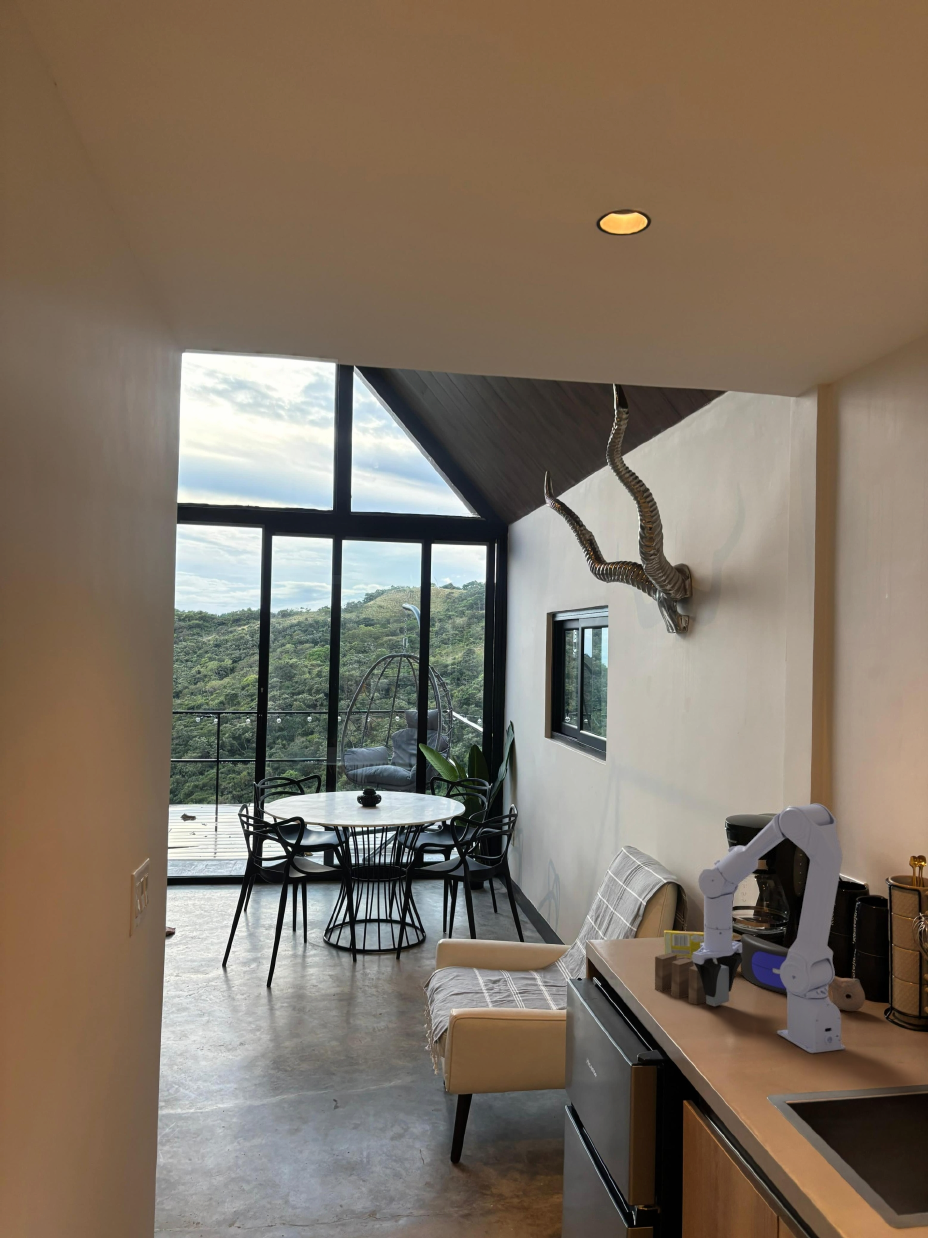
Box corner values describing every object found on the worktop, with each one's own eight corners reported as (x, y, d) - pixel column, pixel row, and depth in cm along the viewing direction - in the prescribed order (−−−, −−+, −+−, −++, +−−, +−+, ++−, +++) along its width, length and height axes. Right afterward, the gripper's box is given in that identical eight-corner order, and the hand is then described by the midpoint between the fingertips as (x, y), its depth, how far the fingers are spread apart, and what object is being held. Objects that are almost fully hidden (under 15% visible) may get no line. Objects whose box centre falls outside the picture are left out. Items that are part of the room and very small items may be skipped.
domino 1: (676, 987, 188) (676, 955, 189) (662, 992, 185) (662, 959, 186) (669, 985, 190) (669, 952, 190) (654, 989, 187) (655, 956, 187)
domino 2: (693, 993, 185) (693, 960, 185) (679, 998, 181) (679, 964, 182) (685, 991, 186) (686, 958, 187) (671, 995, 183) (671, 962, 184)
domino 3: (710, 1000, 181) (711, 966, 182) (696, 1005, 178) (696, 970, 178) (703, 997, 183) (703, 963, 183) (688, 1002, 179) (688, 968, 180)
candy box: (732, 968, 202) (732, 933, 203) (734, 971, 200) (734, 935, 201) (663, 964, 204) (663, 929, 205) (664, 967, 202) (664, 932, 202)
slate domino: (728, 1001, 178) (728, 967, 178) (714, 1006, 174) (714, 971, 175) (720, 998, 179) (720, 964, 180) (706, 1003, 176) (706, 969, 177)
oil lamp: (821, 1012, 176) (821, 972, 176) (816, 1004, 180) (816, 966, 180) (867, 1015, 174) (866, 975, 175) (861, 1008, 178) (861, 969, 179)
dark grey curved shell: (730, 975, 197) (730, 933, 198) (744, 973, 199) (745, 931, 200) (785, 999, 183) (785, 954, 184) (800, 996, 185) (800, 951, 186)
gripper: (722, 916, 186) (722, 980, 185) (680, 927, 177) (680, 994, 176) (750, 924, 180) (750, 990, 179) (709, 935, 171) (709, 1004, 170)
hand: (717, 993), depth 177 cm, fingers closed on slate domino, 5 cm apart
